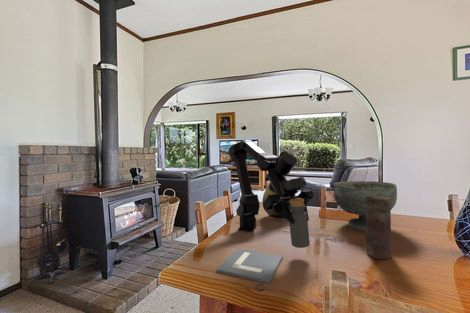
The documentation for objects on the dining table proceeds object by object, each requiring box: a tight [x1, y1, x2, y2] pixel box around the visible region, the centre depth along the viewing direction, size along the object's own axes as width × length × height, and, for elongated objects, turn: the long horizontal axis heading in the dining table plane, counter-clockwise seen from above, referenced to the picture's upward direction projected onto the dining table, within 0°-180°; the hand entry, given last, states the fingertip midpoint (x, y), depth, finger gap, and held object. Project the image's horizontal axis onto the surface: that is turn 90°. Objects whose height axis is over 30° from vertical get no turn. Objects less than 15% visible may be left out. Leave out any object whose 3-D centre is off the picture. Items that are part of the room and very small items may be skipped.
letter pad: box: [216, 248, 284, 284], centre depth 75 cm, size 16×16×1 cm
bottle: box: [288, 198, 310, 249], centre depth 80 cm, size 6×6×15 cm
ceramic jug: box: [262, 171, 291, 221], centre depth 124 cm, size 17×15×30 cm
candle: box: [365, 195, 392, 260], centre depth 81 cm, size 8×7×20 cm
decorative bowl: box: [333, 180, 398, 232], centre depth 110 cm, size 26×26×20 cm
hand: (300, 222), depth 78 cm, fingers closed on bottle, 6 cm apart
